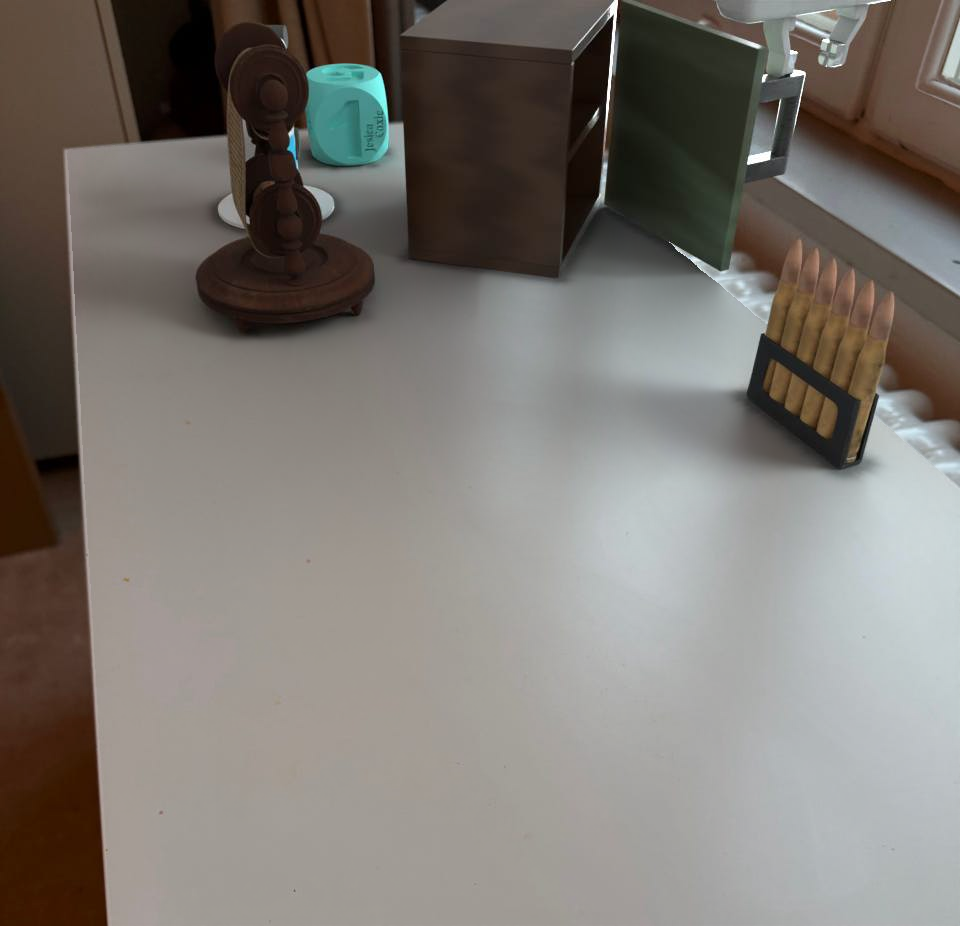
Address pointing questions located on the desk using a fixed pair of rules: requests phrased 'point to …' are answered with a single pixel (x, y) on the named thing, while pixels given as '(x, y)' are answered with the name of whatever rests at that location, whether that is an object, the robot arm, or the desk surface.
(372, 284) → the dark brown piece
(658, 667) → the desk surface
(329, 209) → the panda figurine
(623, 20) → the cupboard door
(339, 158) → the decorative dice
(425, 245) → the cupboard
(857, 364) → the ammunition clip
